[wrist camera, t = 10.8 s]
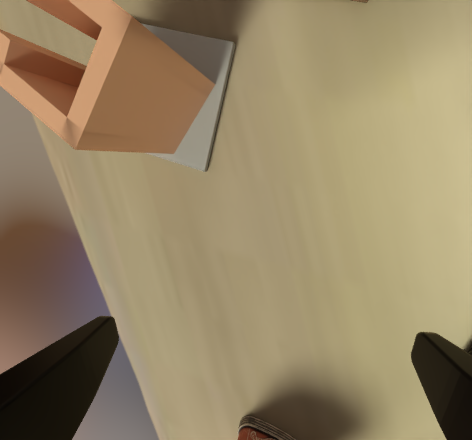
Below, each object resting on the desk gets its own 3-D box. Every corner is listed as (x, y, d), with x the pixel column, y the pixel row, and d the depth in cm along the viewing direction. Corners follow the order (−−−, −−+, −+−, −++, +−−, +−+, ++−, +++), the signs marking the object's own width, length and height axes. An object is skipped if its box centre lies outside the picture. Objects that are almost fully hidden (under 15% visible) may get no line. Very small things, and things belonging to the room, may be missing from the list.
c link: (215, 84, 18) (132, 16, 9) (173, 153, 20) (75, 149, 11) (152, 35, 18) (18, -74, 10) (118, 108, 20) (-17, 71, 12)
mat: (235, 45, 17) (233, 42, 17) (206, 171, 20) (204, 171, 19) (126, 23, 19) (121, 19, 18) (113, 142, 22) (109, 141, 21)
